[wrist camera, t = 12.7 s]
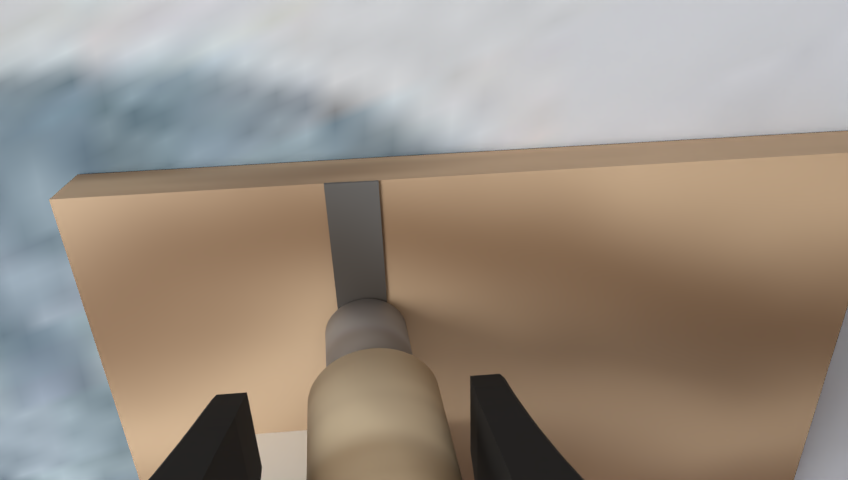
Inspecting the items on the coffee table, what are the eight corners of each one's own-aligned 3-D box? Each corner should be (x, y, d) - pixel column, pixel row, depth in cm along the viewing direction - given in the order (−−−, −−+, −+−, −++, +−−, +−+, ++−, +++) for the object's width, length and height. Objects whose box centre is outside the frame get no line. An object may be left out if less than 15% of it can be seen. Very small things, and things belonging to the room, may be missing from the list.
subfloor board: (716, 625, 25) (736, 667, 24) (224, 672, 24) (215, 718, 23) (852, 130, 16) (898, 150, 15) (77, 174, 15) (47, 200, 14)
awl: (424, 371, 17) (495, 674, 10) (315, 384, 16) (315, 706, 10) (420, 278, 15) (499, 557, 9) (302, 290, 15) (292, 590, 8)
